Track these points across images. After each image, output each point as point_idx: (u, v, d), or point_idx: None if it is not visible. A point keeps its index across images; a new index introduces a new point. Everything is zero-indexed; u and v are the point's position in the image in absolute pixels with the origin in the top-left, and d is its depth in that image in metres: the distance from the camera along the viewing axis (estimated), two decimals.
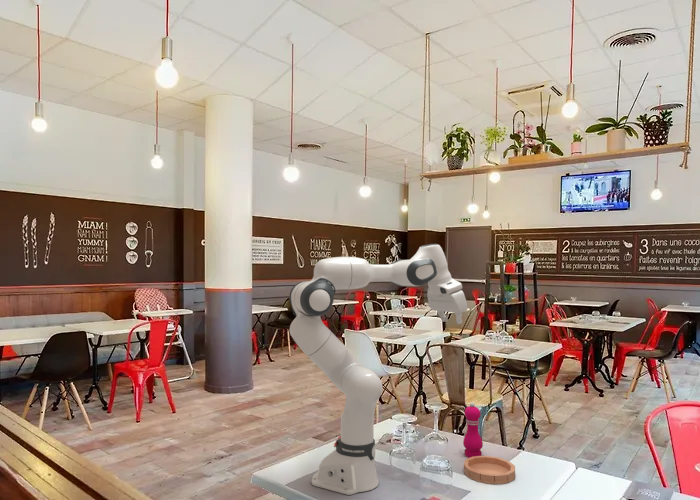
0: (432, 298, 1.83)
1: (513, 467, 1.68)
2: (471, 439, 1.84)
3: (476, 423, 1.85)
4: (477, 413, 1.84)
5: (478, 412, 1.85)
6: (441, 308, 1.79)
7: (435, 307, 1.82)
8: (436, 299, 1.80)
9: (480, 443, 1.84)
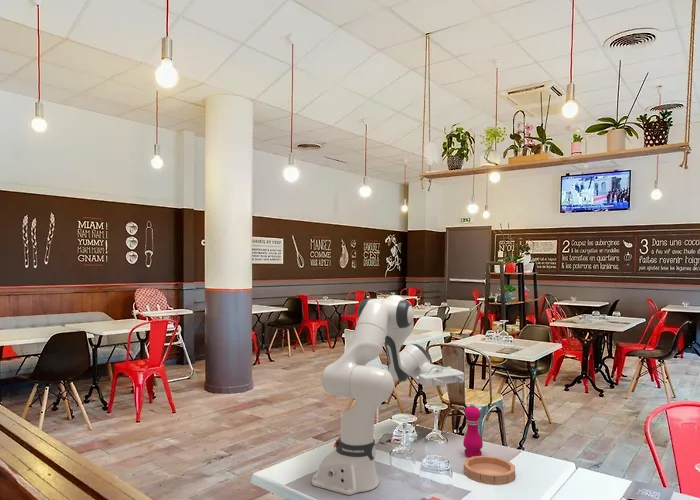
0: (426, 375, 2.04)
1: (513, 467, 1.68)
2: (471, 439, 1.84)
3: (476, 423, 1.85)
4: (477, 413, 1.84)
5: (478, 412, 1.85)
6: (441, 375, 2.03)
7: (432, 376, 2.02)
8: (432, 374, 2.05)
9: (480, 443, 1.84)
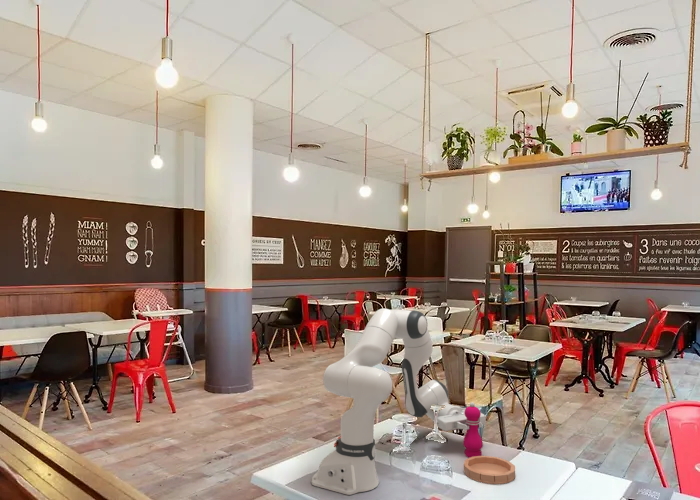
0: (445, 418, 1.92)
1: (513, 467, 1.68)
2: (471, 439, 1.84)
3: (476, 423, 1.85)
4: (477, 413, 1.84)
5: (478, 412, 1.85)
6: (461, 418, 1.91)
7: (452, 419, 1.89)
8: (451, 417, 1.93)
9: (480, 443, 1.84)
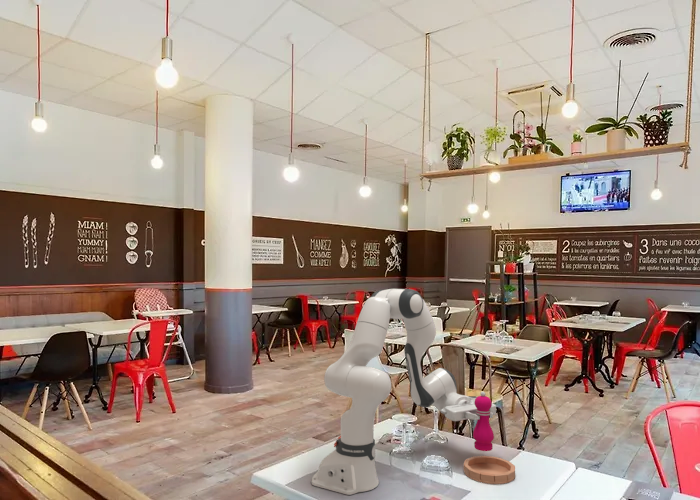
0: (454, 407, 1.80)
1: (513, 467, 1.68)
2: (481, 431, 1.72)
3: (487, 413, 1.73)
4: (488, 403, 1.73)
5: (489, 402, 1.73)
6: (470, 408, 1.79)
7: (461, 409, 1.77)
8: (460, 407, 1.81)
9: (491, 435, 1.72)
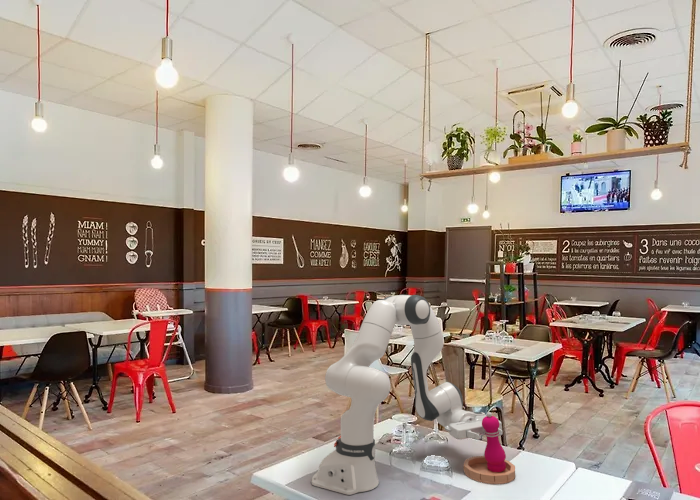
0: (458, 425, 1.76)
1: (513, 467, 1.68)
2: (492, 453, 1.69)
3: (496, 434, 1.69)
4: (495, 424, 1.68)
5: (497, 422, 1.69)
6: (475, 425, 1.74)
7: (465, 426, 1.73)
8: (465, 424, 1.77)
9: (503, 455, 1.69)
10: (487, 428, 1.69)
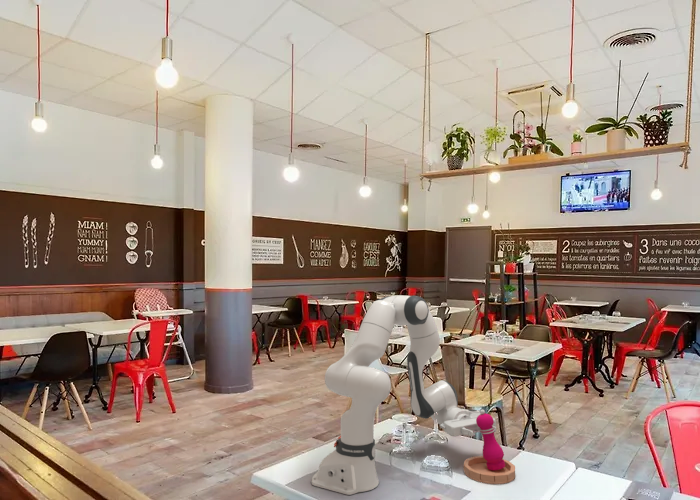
0: (453, 422, 1.79)
1: (513, 467, 1.68)
2: (490, 450, 1.70)
3: (491, 431, 1.71)
4: (489, 420, 1.71)
5: (490, 418, 1.72)
6: (469, 422, 1.77)
7: (460, 424, 1.76)
8: (459, 421, 1.79)
9: (500, 452, 1.70)
10: (481, 425, 1.71)
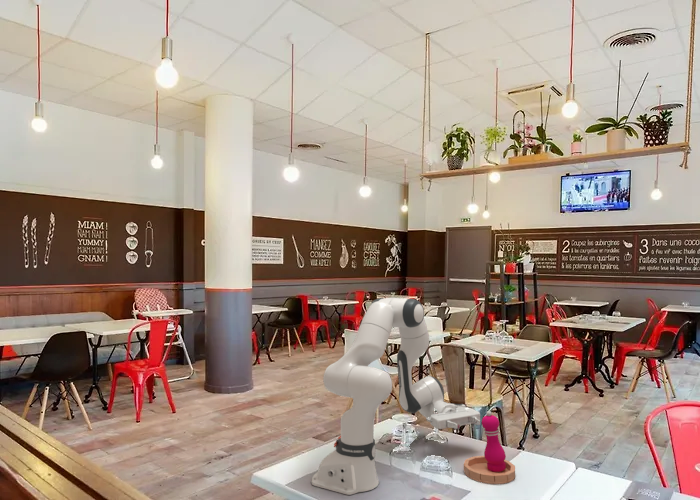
0: (439, 416, 1.86)
1: (513, 467, 1.68)
2: (492, 452, 1.69)
3: (496, 433, 1.70)
4: (495, 423, 1.70)
5: (496, 421, 1.70)
6: (455, 416, 1.85)
7: (445, 417, 1.84)
8: (445, 415, 1.87)
9: (503, 454, 1.69)
10: (487, 427, 1.70)
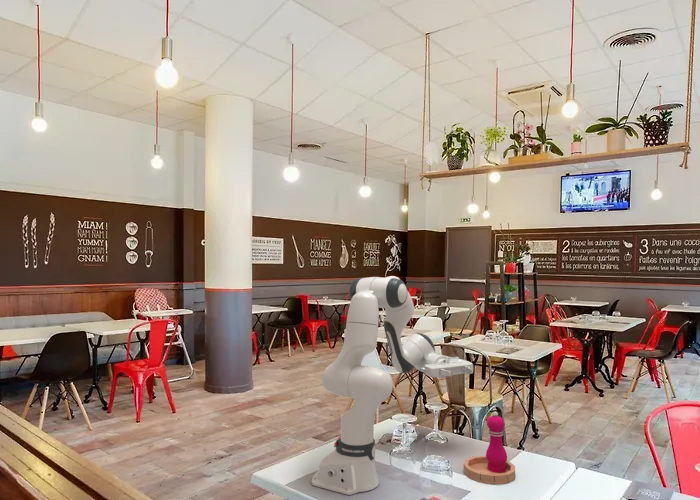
0: (433, 365, 1.90)
1: (513, 467, 1.68)
2: (495, 452, 1.69)
3: (500, 434, 1.70)
4: (501, 424, 1.69)
5: (502, 422, 1.70)
6: (448, 365, 1.89)
7: (439, 366, 1.88)
8: (439, 365, 1.91)
9: (505, 456, 1.69)
10: (492, 427, 1.70)
